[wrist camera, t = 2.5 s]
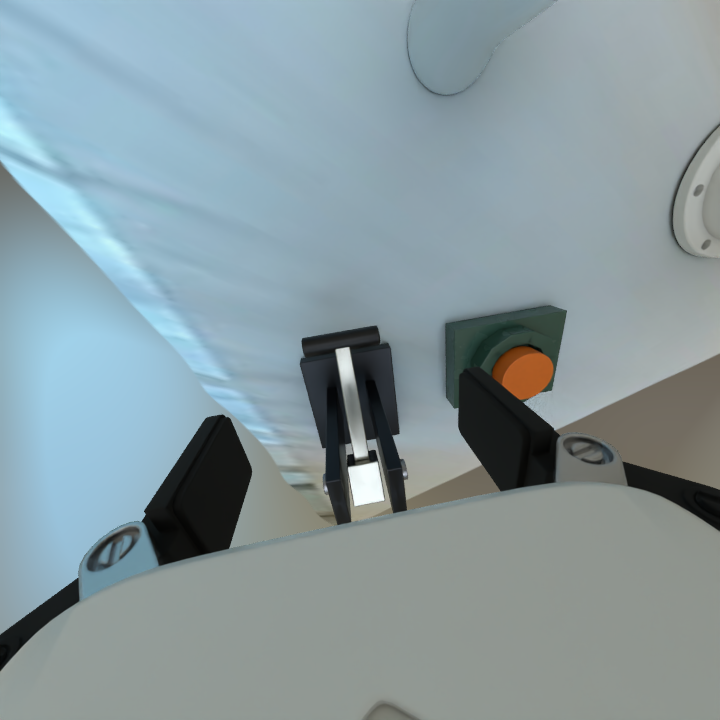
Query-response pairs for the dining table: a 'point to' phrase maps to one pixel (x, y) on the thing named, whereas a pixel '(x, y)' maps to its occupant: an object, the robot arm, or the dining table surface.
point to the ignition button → (523, 371)
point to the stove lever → (352, 408)
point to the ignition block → (500, 342)
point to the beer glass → (462, 37)
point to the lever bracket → (377, 418)
